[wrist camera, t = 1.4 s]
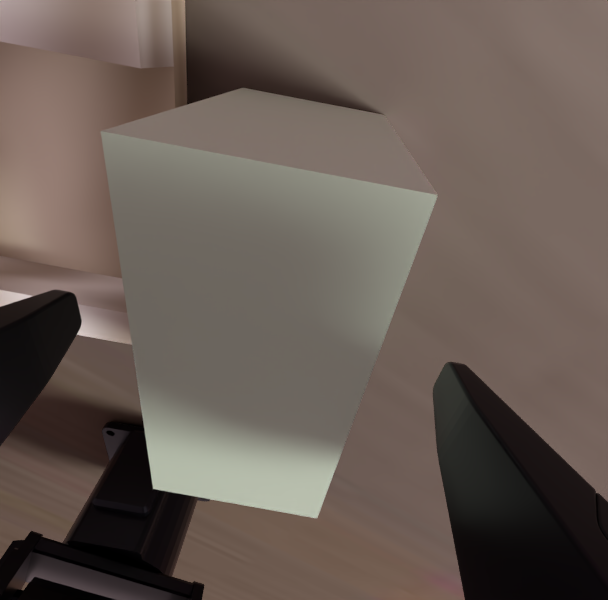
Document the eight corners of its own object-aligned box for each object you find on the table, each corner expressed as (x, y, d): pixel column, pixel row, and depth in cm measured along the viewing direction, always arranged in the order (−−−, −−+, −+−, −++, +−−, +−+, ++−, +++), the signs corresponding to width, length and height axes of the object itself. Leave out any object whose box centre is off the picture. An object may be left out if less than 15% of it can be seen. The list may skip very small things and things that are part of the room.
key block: (328, 332, 16) (316, 518, 10) (230, 314, 16) (153, 488, 10) (384, 114, 11) (438, 195, 5) (243, 87, 11) (101, 130, 5)
